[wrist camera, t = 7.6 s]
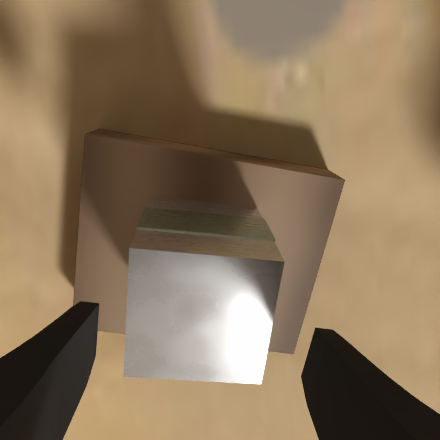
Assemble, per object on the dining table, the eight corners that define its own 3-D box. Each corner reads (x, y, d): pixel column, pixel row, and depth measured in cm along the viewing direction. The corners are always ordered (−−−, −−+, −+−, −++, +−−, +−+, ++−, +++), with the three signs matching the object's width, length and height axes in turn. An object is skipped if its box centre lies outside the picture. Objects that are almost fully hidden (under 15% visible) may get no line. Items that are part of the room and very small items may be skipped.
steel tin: (258, 206, 18) (286, 260, 12) (243, 299, 20) (262, 385, 14) (150, 195, 17) (127, 246, 12) (144, 292, 19) (121, 377, 13)
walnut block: (324, 167, 21) (345, 179, 18) (282, 322, 24) (293, 354, 21) (101, 127, 19) (84, 134, 16) (87, 297, 22) (71, 327, 20)
